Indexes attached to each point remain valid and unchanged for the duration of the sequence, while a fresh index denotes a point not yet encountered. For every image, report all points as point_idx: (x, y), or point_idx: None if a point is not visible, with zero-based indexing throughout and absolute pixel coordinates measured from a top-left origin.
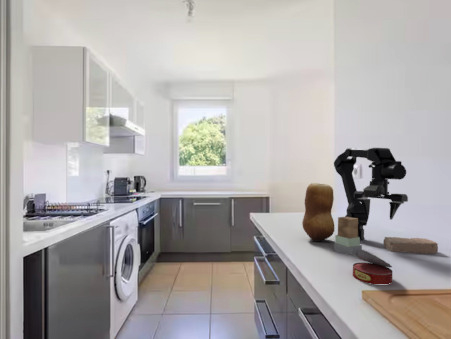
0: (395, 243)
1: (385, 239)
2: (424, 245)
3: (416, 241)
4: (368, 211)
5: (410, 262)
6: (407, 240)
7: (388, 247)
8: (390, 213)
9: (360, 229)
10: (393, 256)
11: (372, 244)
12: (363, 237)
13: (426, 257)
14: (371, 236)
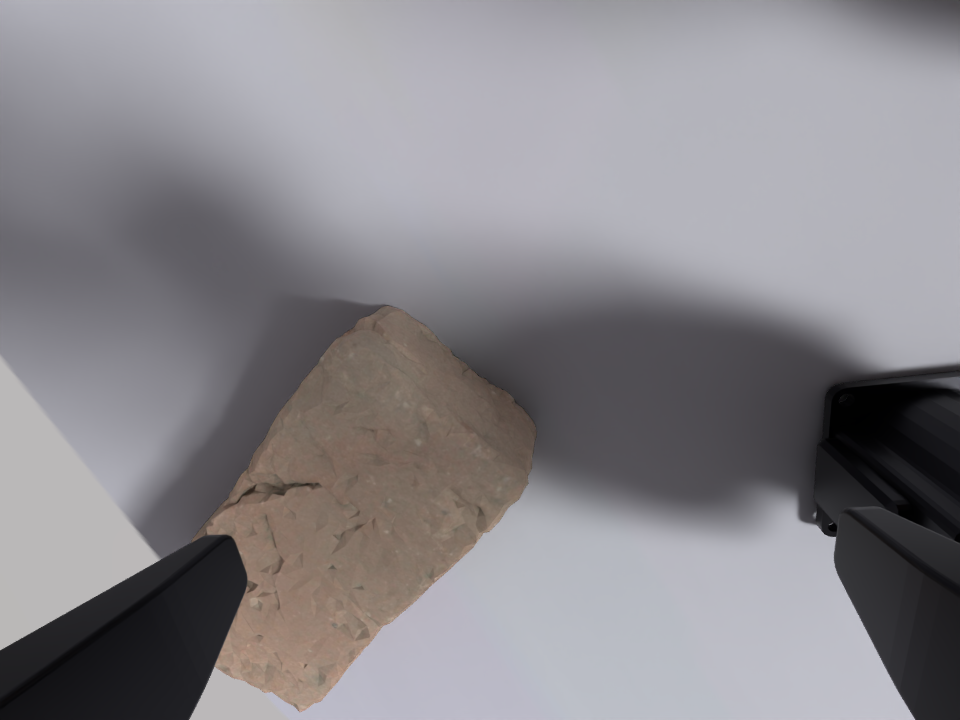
0: (323, 354)
1: (494, 435)
2: (198, 533)
3: (271, 568)
4: (942, 688)
5: (43, 78)
6: (325, 536)
7: (421, 339)
8: (69, 642)
9: (908, 515)
10: (234, 126)
11: (636, 388)
12: (819, 494)
13: (152, 389)
14: (833, 678)
